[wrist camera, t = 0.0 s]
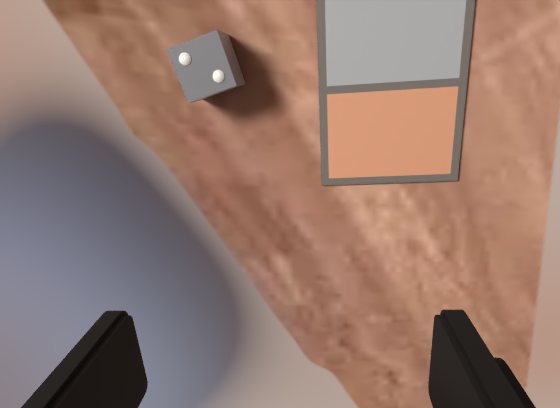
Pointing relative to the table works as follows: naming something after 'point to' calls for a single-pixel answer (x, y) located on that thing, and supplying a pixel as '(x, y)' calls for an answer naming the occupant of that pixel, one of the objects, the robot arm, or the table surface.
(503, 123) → the table surface
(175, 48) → the die
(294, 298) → the table surface
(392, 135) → the board
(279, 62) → the table surface
